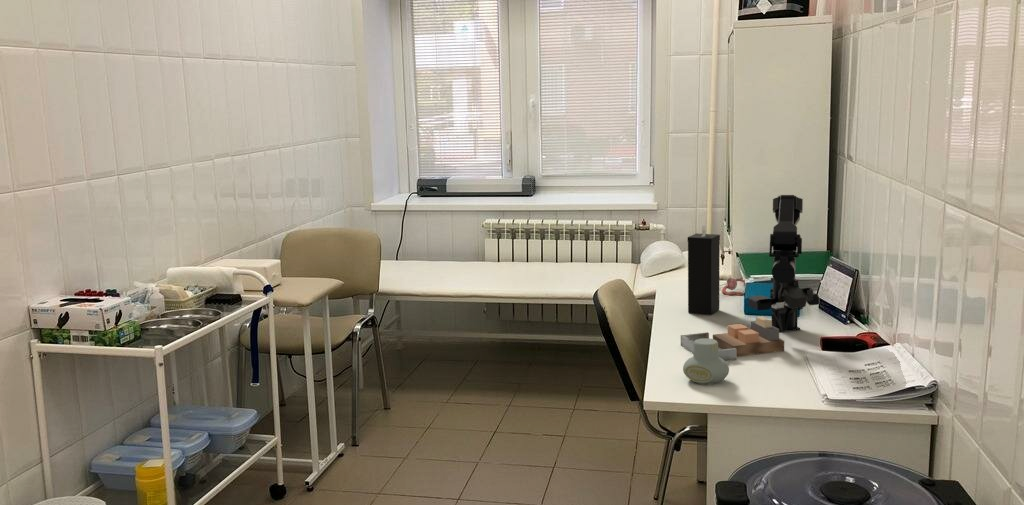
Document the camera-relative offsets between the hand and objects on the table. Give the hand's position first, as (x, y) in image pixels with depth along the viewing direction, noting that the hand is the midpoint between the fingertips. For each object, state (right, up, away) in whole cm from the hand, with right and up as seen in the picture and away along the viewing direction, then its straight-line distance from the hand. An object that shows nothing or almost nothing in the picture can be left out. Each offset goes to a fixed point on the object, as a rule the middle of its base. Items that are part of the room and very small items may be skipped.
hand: (783, 330), depth 236 cm
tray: (-22, -6, -4) cm, 23 cm away
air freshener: (-27, -10, -27) cm, 39 cm away
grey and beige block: (-5, -1, -1) cm, 6 cm away
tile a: (-12, -1, 0) cm, 13 cm away
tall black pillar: (-13, +2, +39) cm, 41 cm away
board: (-10, -5, -2) cm, 11 cm away
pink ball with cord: (-2, +6, +61) cm, 61 cm away
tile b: (-11, -2, -5) cm, 13 cm away
